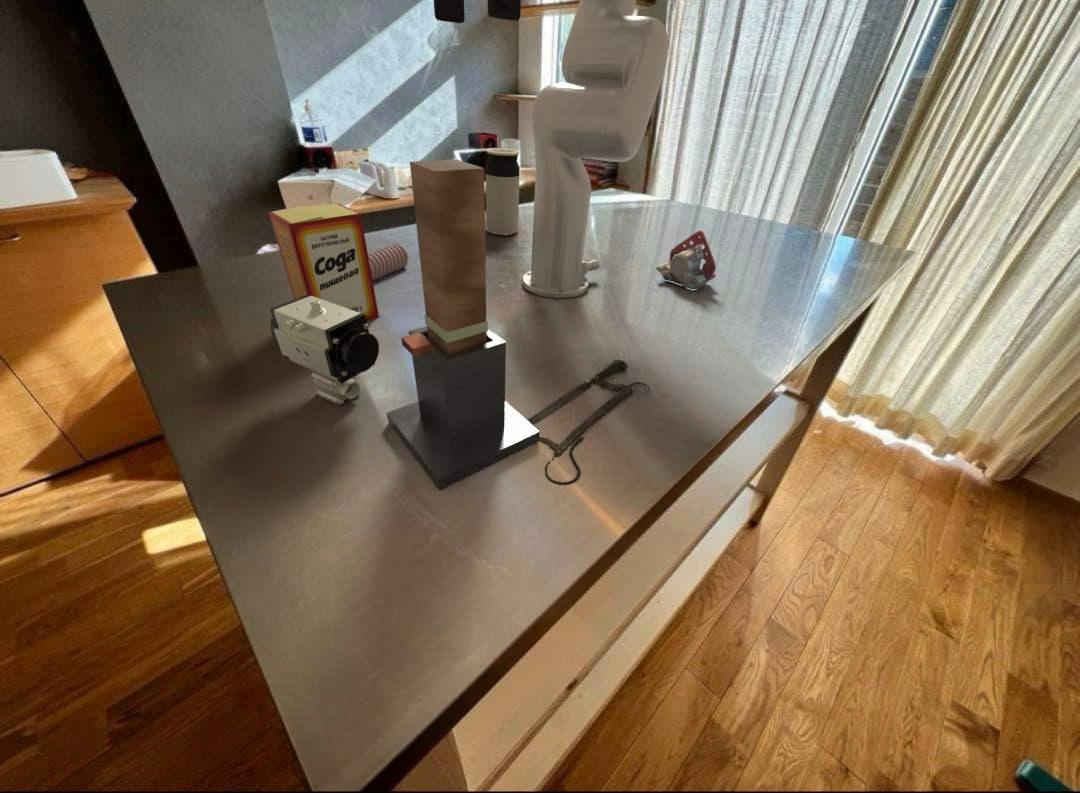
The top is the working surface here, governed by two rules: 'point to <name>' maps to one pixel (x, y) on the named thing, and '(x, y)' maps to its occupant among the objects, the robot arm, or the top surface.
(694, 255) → the brake caliper
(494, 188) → the travel mug
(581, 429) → the hacksaw
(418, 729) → the top surface
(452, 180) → the column
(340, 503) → the top surface
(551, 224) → the robot arm
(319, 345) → the pneumatic valve
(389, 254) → the coil
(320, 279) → the baking soda box
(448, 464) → the sleeve
